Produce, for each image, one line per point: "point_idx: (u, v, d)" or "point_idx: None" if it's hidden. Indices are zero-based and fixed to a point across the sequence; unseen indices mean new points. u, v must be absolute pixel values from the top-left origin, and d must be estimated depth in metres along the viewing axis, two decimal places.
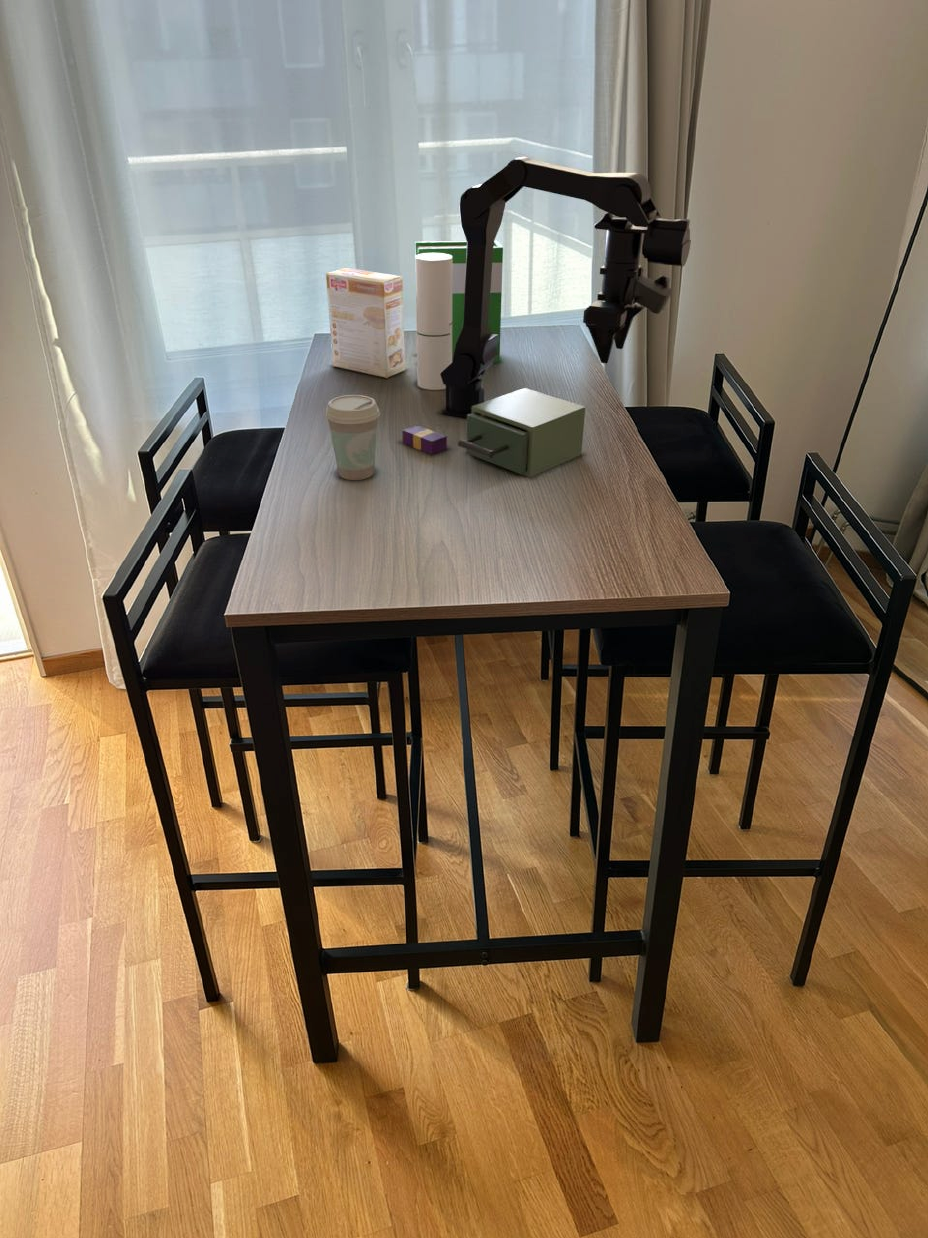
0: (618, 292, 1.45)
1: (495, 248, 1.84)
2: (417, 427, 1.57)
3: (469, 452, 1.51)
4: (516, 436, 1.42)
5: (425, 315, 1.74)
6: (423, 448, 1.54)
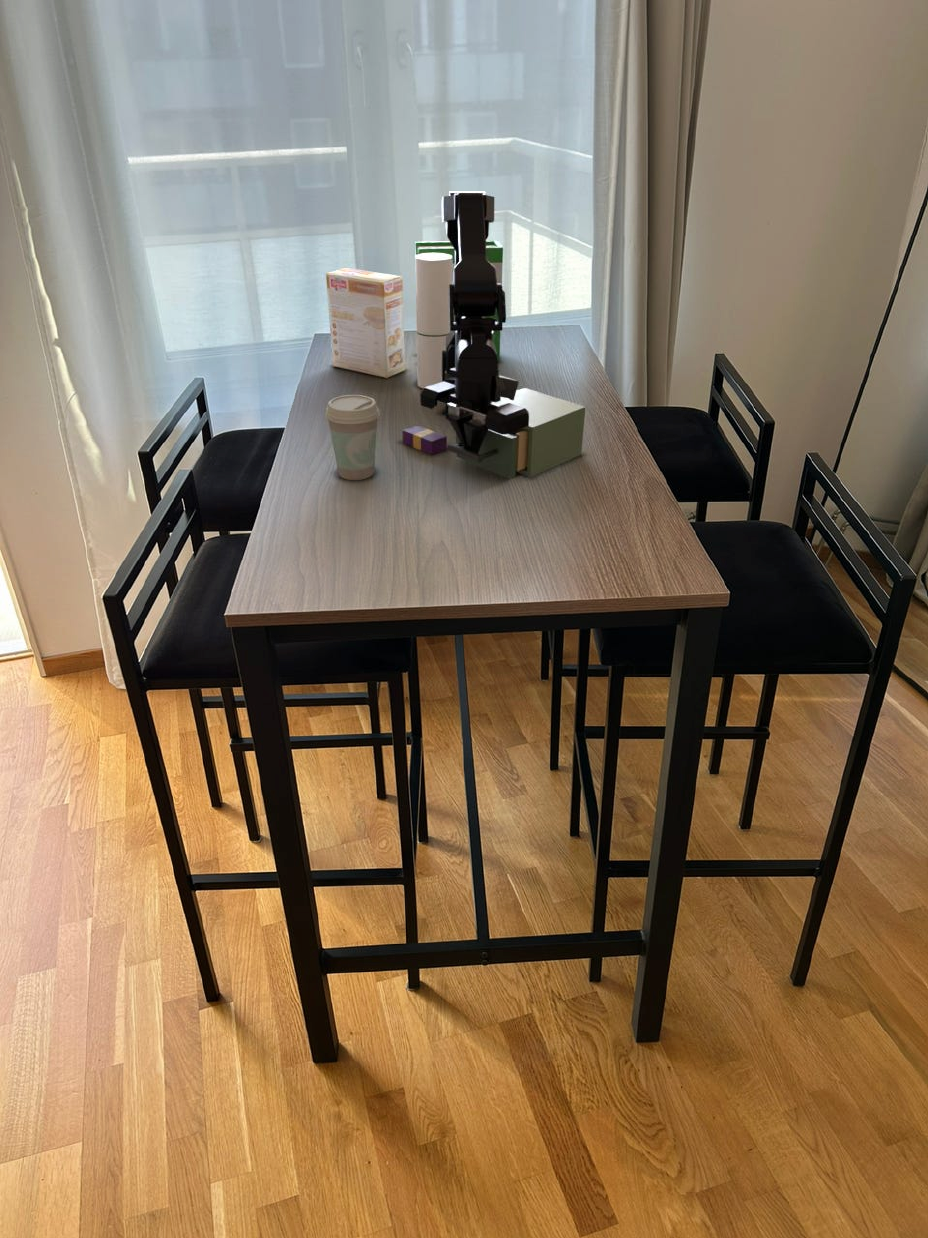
0: (489, 393, 1.36)
1: (495, 248, 1.84)
2: (417, 427, 1.57)
3: (459, 456, 1.50)
4: (506, 440, 1.40)
5: (425, 315, 1.74)
6: (423, 448, 1.54)
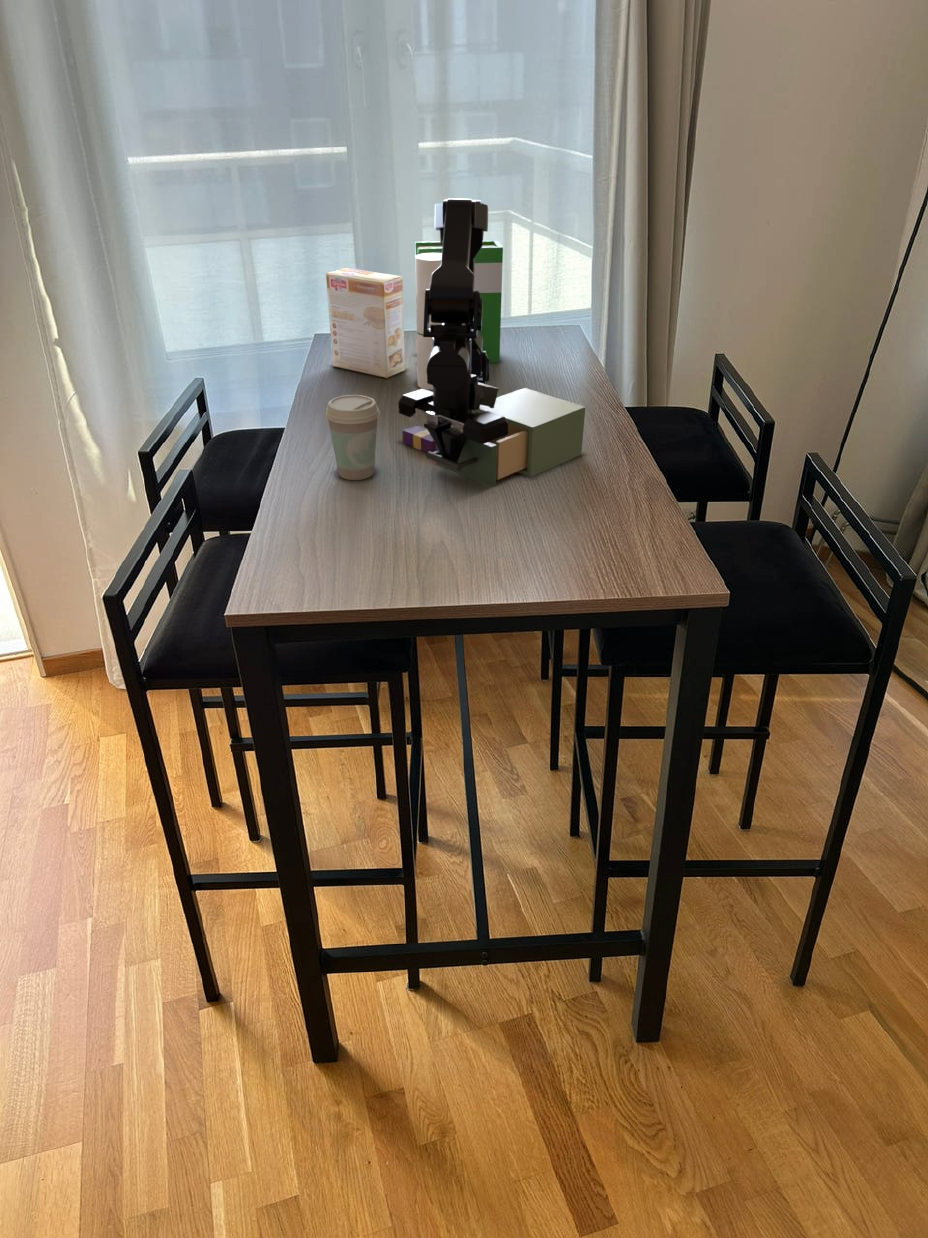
0: (468, 401, 1.34)
1: (495, 248, 1.84)
2: (417, 427, 1.57)
3: (438, 464, 1.47)
4: (485, 448, 1.38)
5: None
6: (423, 448, 1.54)
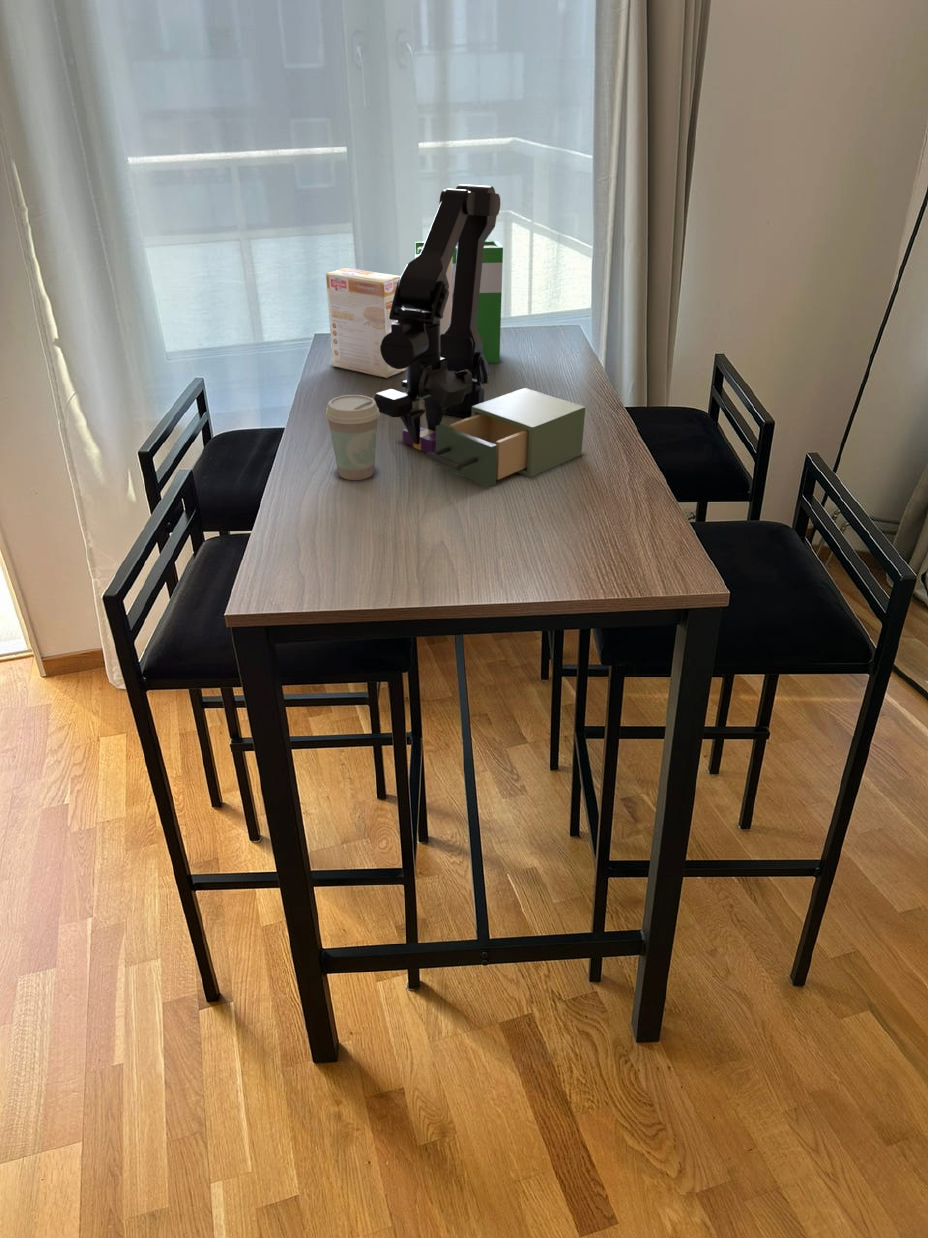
0: (414, 382, 1.48)
1: (495, 248, 1.84)
2: None
3: (438, 464, 1.47)
4: (485, 448, 1.38)
5: None
6: (423, 448, 1.54)
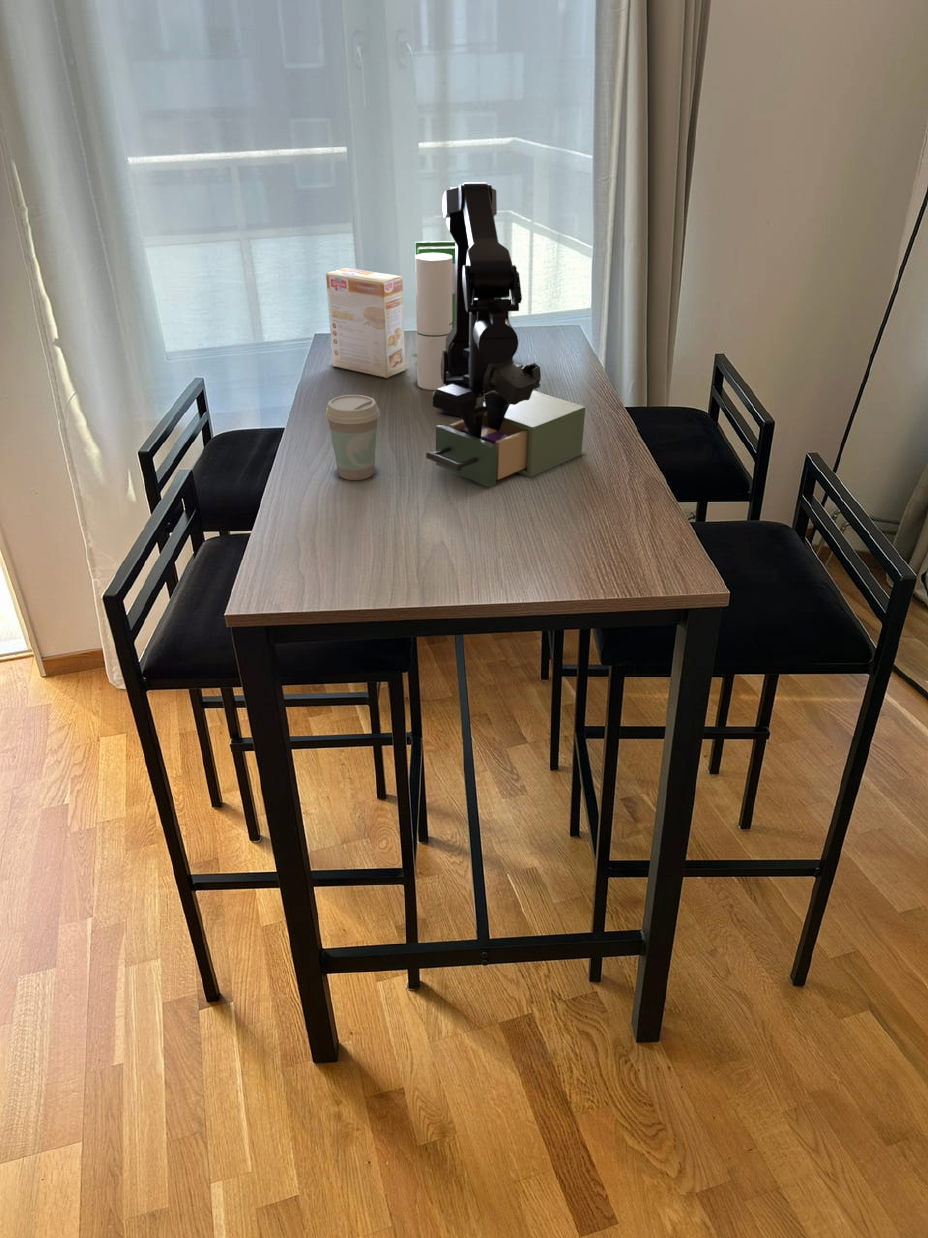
0: (478, 377, 1.36)
1: None
2: None
3: (438, 464, 1.47)
4: (485, 448, 1.38)
5: (425, 315, 1.74)
6: None
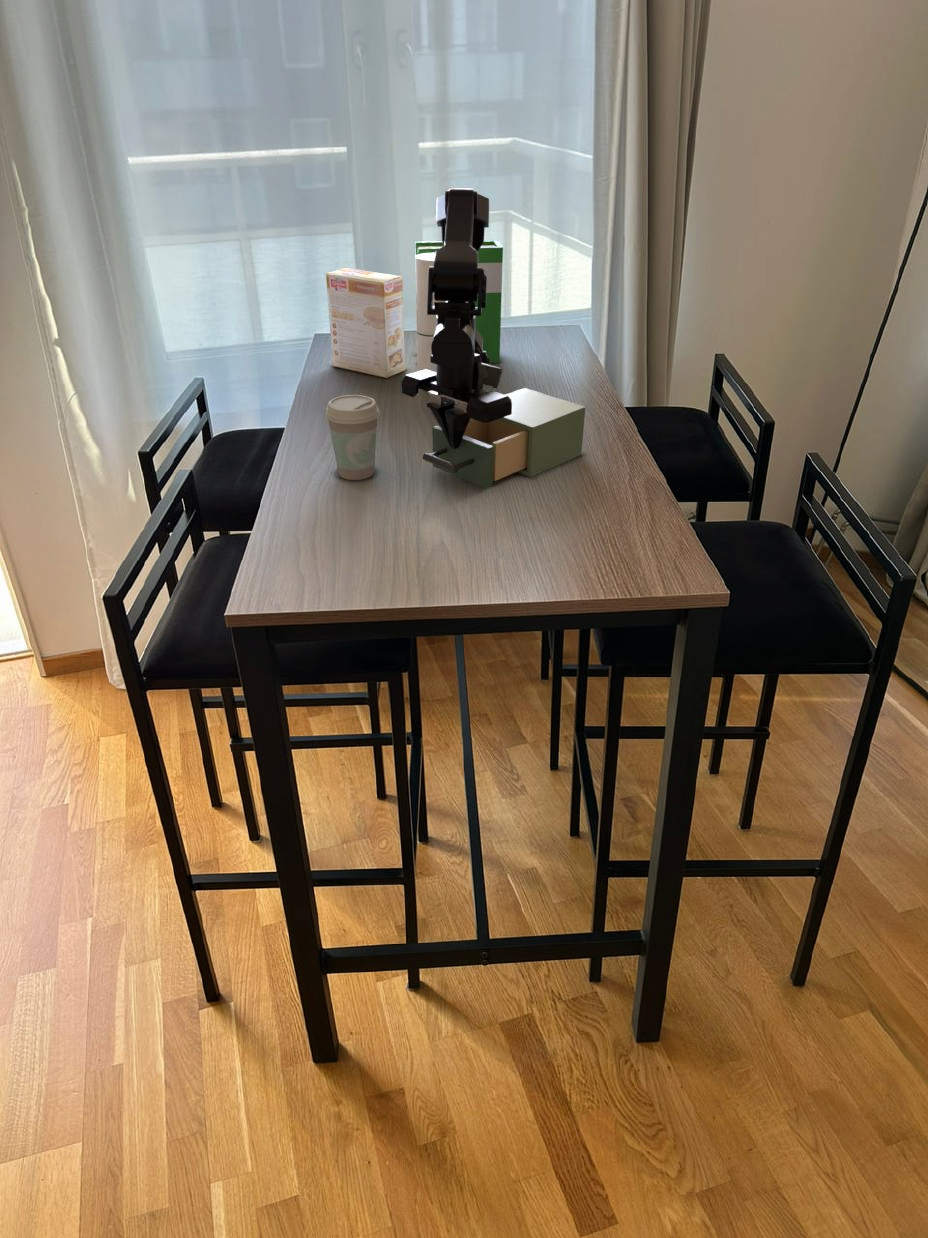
0: (471, 381, 1.33)
1: (495, 248, 1.84)
2: None
3: (435, 465, 1.46)
4: (482, 450, 1.37)
5: (425, 315, 1.74)
6: None
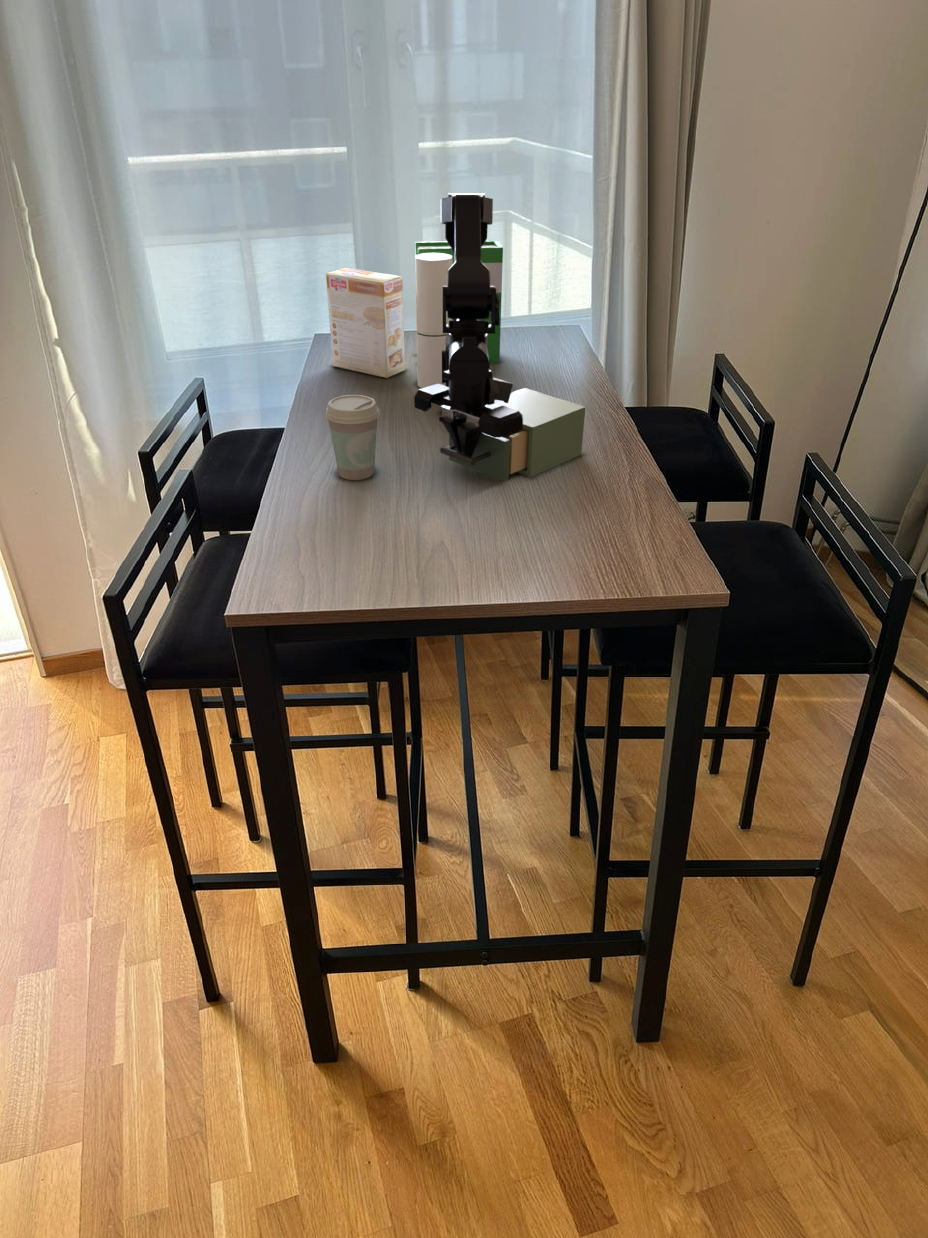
0: (483, 396, 1.36)
1: (495, 248, 1.84)
2: None
3: (452, 459, 1.49)
4: (499, 443, 1.39)
5: (425, 315, 1.74)
6: None
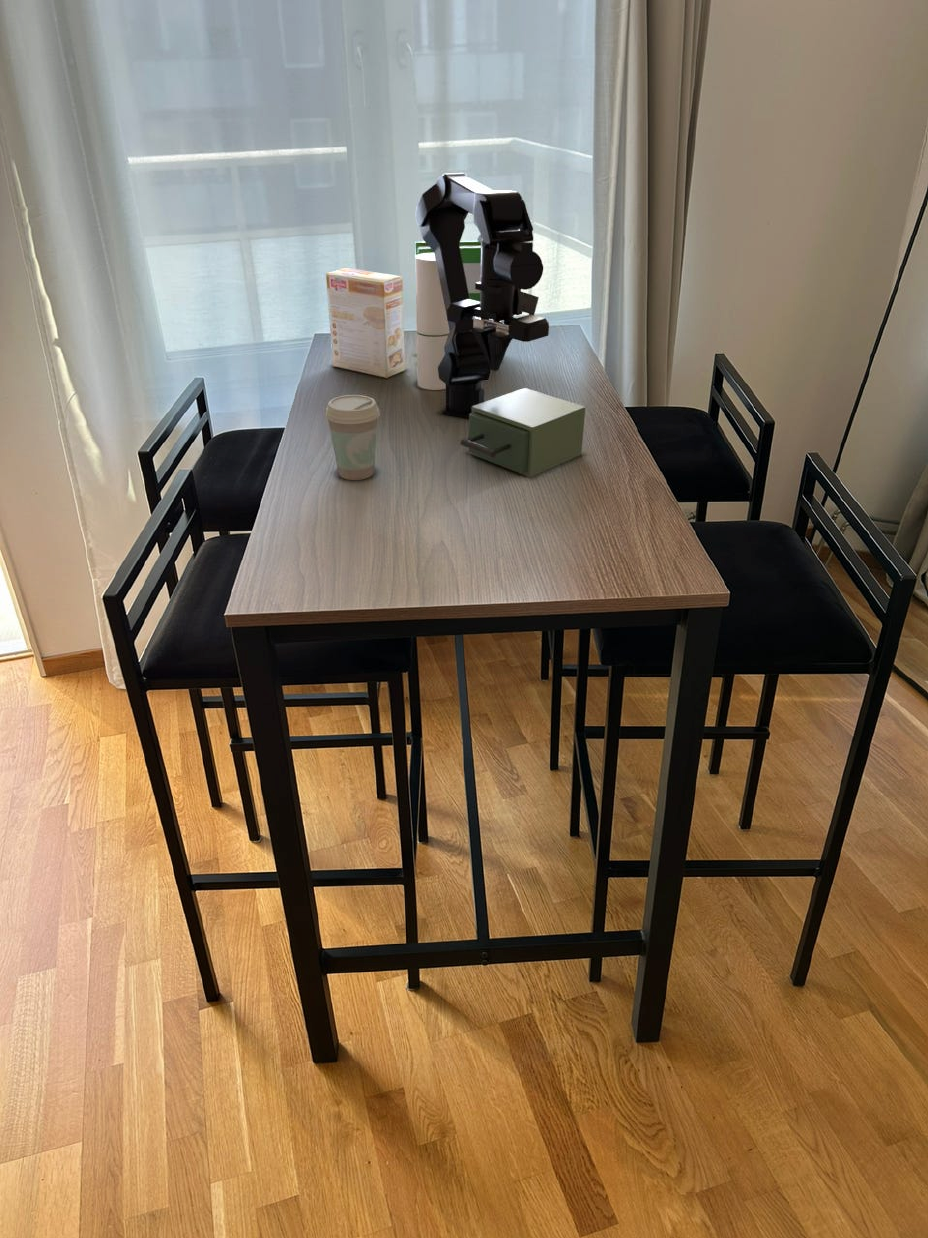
0: (512, 306, 1.47)
1: None
2: None
3: (471, 451, 1.51)
4: (518, 435, 1.42)
5: (425, 315, 1.74)
6: None
